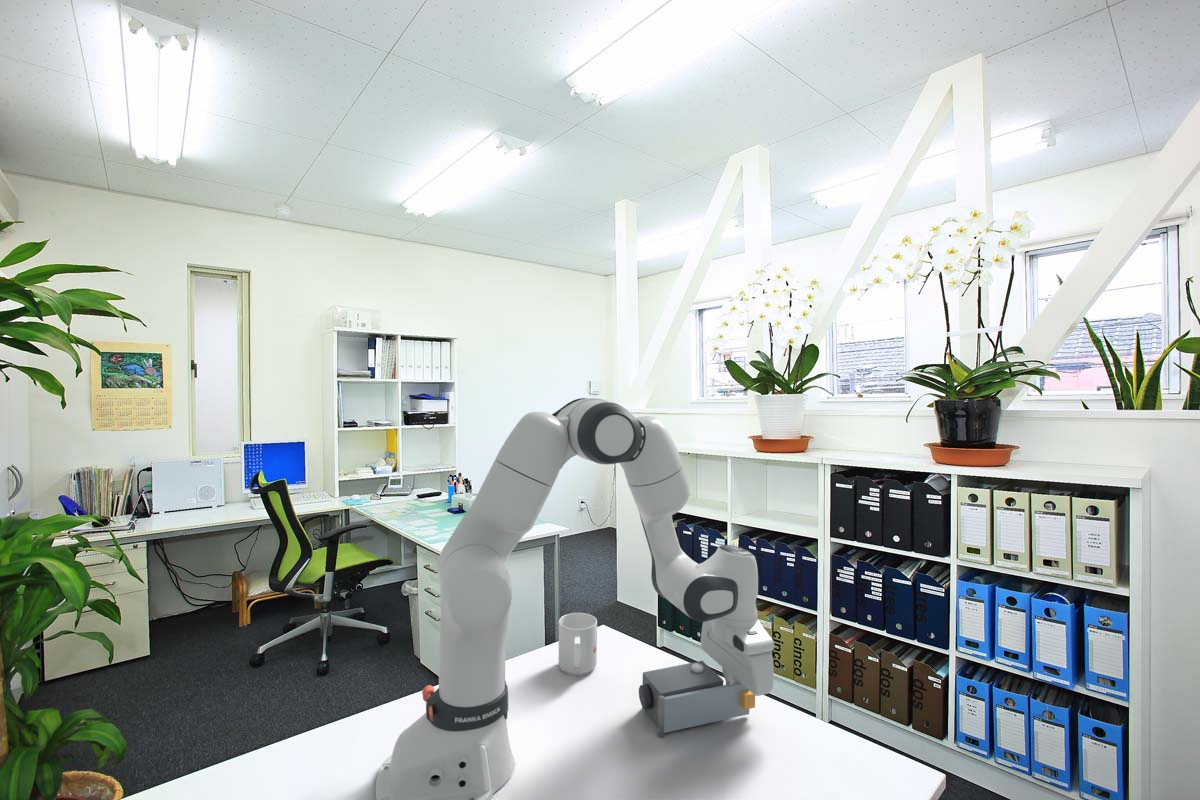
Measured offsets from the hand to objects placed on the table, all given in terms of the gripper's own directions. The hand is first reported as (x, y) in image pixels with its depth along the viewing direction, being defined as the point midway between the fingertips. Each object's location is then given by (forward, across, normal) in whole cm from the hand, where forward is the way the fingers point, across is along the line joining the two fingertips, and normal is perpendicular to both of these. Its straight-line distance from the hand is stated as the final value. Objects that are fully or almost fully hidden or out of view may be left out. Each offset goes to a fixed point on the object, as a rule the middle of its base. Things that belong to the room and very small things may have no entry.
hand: (733, 692), depth 112 cm
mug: (+4, -25, -25) cm, 35 cm away
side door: (+4, +3, -8) cm, 9 cm away
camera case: (+4, -3, -10) cm, 11 cm away
